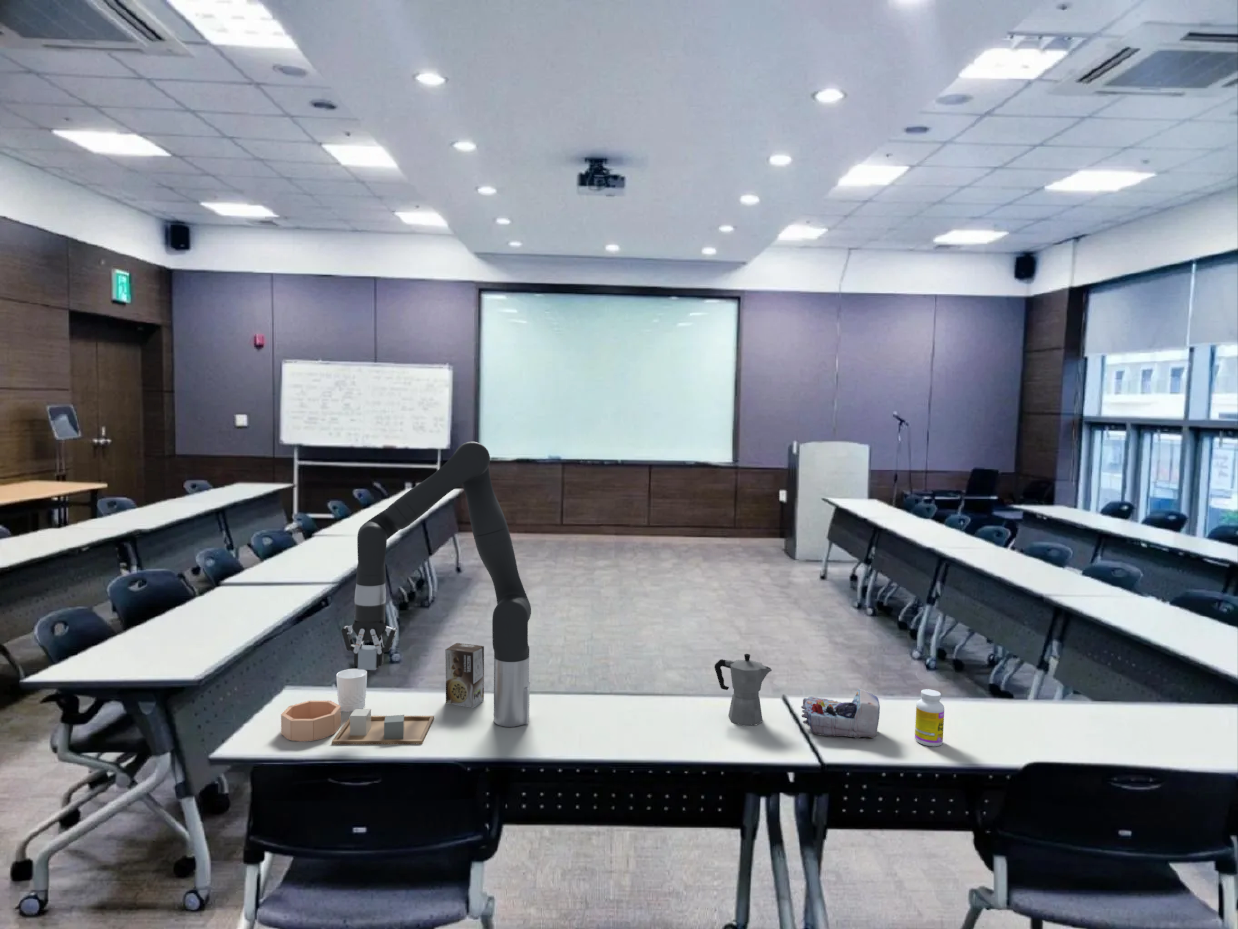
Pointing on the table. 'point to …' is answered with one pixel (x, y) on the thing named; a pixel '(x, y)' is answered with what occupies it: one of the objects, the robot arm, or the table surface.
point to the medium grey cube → (394, 727)
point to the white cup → (351, 689)
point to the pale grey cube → (360, 722)
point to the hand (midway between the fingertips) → (368, 666)
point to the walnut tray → (413, 732)
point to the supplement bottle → (929, 718)
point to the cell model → (843, 715)
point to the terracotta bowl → (310, 720)
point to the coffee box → (464, 674)
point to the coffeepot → (744, 689)
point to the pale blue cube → (367, 658)
